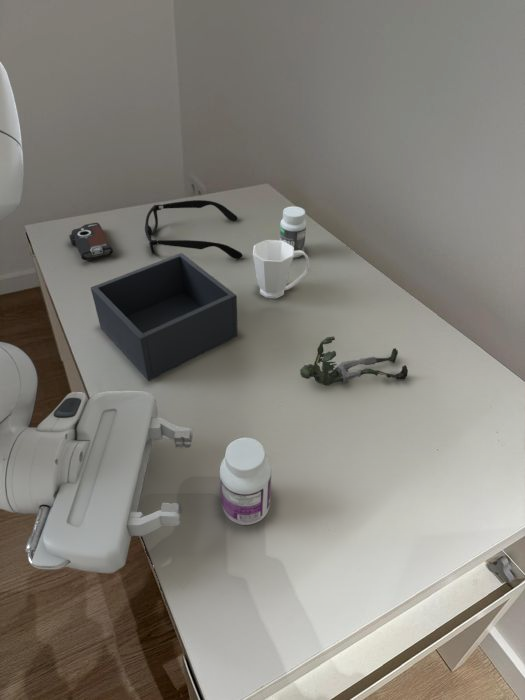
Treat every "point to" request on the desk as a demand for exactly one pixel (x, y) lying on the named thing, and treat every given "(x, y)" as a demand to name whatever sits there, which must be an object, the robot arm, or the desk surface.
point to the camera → (91, 241)
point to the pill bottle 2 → (293, 228)
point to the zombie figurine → (344, 367)
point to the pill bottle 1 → (245, 481)
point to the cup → (275, 267)
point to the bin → (165, 314)
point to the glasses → (189, 243)
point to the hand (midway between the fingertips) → (186, 473)
